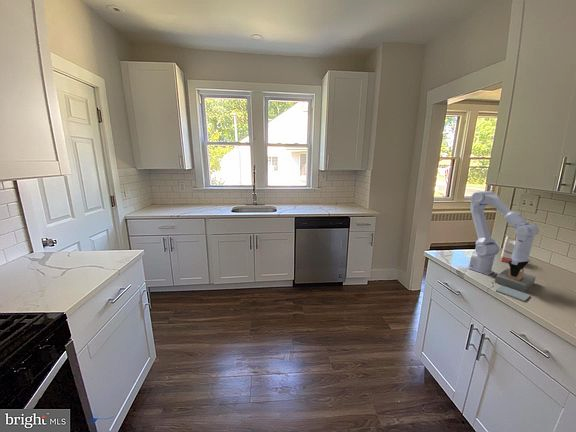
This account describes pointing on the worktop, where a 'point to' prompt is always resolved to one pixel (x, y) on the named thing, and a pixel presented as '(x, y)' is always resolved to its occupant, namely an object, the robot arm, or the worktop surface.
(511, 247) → the ink cartridge box
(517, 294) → the mat
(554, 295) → the worktop surface
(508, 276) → the plug
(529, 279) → the plate
